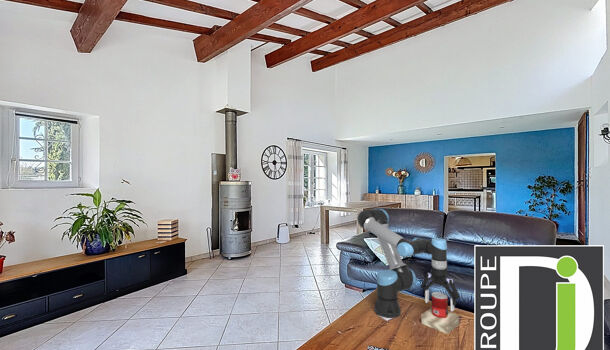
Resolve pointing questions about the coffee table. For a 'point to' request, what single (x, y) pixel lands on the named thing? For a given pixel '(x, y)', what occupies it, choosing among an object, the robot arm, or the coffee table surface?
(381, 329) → the coffee table surface
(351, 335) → the coffee table surface
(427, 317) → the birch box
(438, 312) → the canned food
